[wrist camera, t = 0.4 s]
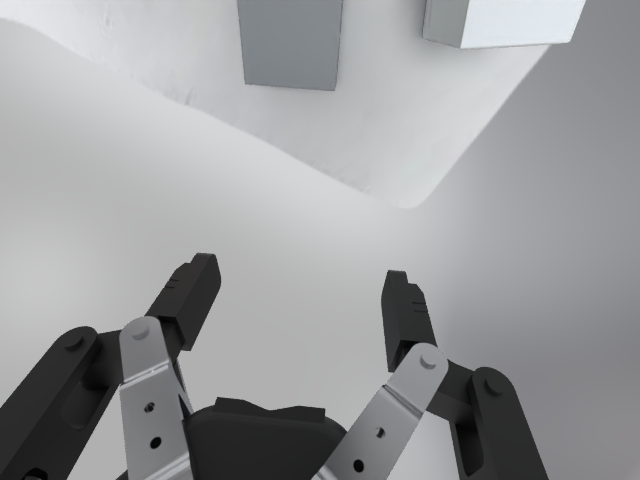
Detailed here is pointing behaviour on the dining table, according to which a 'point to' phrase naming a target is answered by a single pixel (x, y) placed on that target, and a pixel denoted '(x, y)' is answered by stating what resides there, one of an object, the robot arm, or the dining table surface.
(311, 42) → the base
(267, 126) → the dining table surface
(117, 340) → the robot arm
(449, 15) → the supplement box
